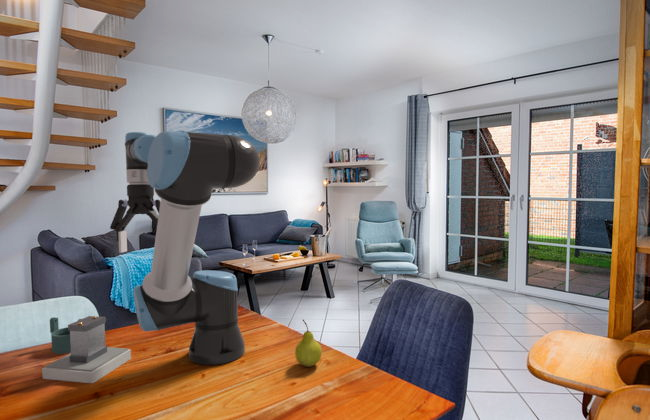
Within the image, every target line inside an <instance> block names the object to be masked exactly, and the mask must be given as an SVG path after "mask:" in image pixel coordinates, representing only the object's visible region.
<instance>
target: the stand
mask: <svg viewBox="0 0 650 420" xmlns="http://www.w3.org/2000/svg"><path fill="white" fill-rule="evenodd" d="M131 352H132V349H131V348H125V347H124V348H123V347H112V346H111V347H109V346H107V352H106V353H104V354H103V355H101V356H99V357H97V358H96V359H94V360H92V361H90V362H89V363H77V362H70V358H69V356H71V353H67V354H66V355H65V356H63V357H61V358H59V359H57V360H54V361H53V362H51V363H49V364H46V365H45V366H44V367H42V368H41V371H42V372H41V373H42V375H41V376H42V379H43V380H44V379H45V380H53V381H61V382H62V381H63V382H71V383H72V382H74V383H84V384H85V383H86V384H94V383H95V382H97V381H99V380H100V379H101V378H103V377H105V376H107V375H108V374H109V373H111V372H112V371H114V370H116V369H117V368H119V367H120V366H122V365H124V364H125V363H127V362H129V360H131V359H132V353H131Z"/></svg>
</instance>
